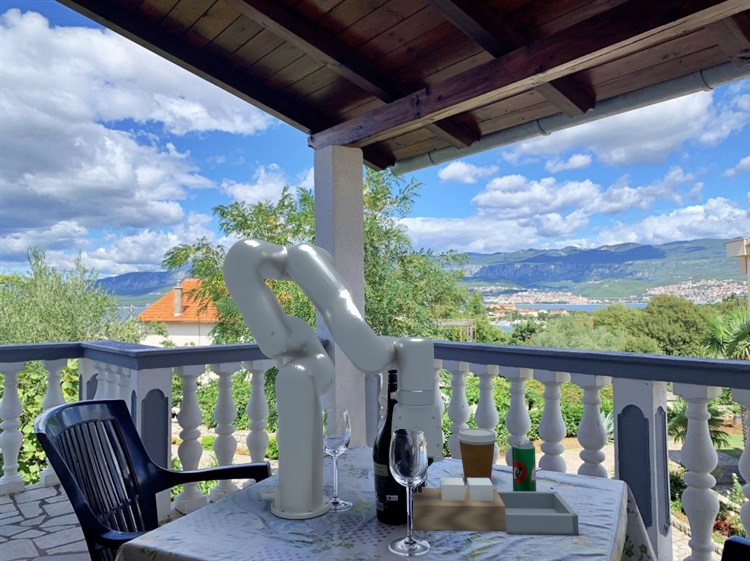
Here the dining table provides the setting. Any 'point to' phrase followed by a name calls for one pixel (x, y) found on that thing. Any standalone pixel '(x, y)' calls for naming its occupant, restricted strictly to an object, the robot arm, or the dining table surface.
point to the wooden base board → (457, 512)
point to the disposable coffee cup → (477, 452)
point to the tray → (538, 513)
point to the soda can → (523, 466)
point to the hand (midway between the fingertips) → (417, 490)
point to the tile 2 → (479, 489)
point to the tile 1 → (452, 489)
